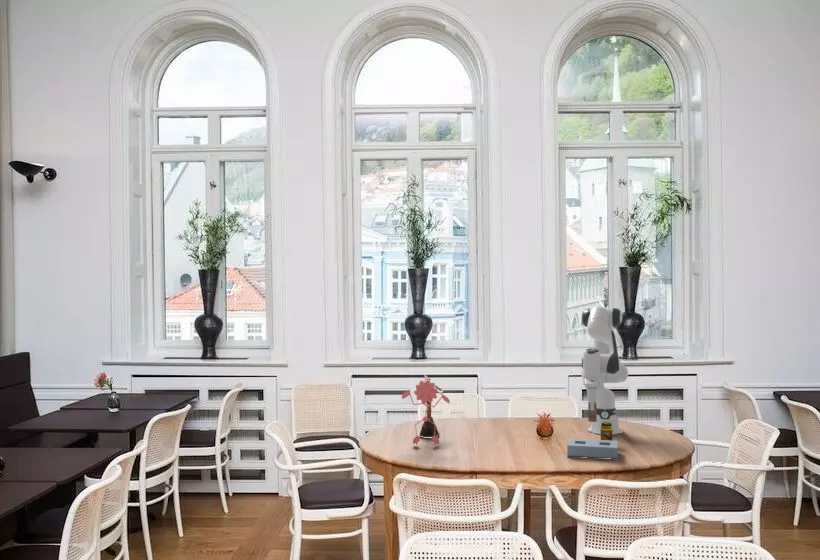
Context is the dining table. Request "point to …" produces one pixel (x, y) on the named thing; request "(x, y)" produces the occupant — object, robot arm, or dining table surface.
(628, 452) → the dining table surface
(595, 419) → the walnut pin
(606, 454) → the bore block
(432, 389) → the pink flower figurine
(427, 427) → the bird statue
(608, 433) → the condiment
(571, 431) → the dining table surface
